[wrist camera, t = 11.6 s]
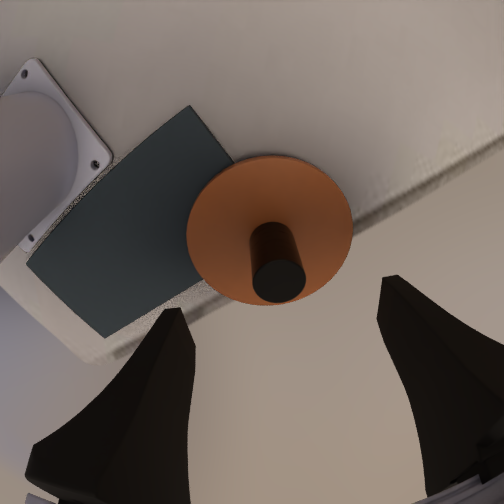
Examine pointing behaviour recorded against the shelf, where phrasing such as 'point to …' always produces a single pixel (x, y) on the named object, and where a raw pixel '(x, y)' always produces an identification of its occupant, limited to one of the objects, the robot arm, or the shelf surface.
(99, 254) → the felt mat
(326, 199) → the lid
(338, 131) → the shelf surface
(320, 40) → the shelf surface
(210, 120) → the shelf surface
